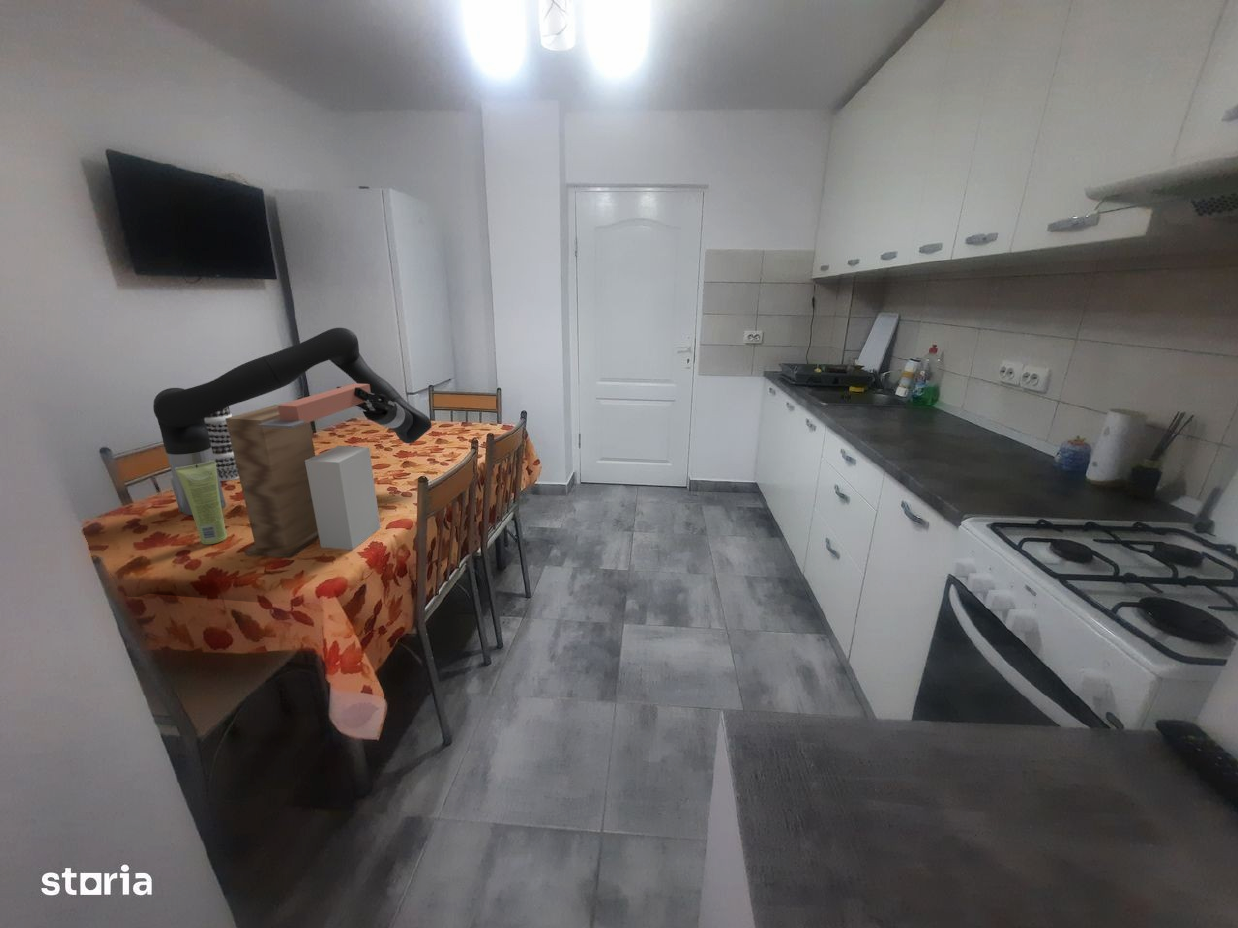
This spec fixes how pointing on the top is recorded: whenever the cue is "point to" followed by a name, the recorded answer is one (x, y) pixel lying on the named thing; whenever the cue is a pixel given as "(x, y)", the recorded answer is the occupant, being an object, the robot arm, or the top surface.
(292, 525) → the stand
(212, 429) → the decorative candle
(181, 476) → the tube
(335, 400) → the scraper
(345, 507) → the light grey rectangular block
